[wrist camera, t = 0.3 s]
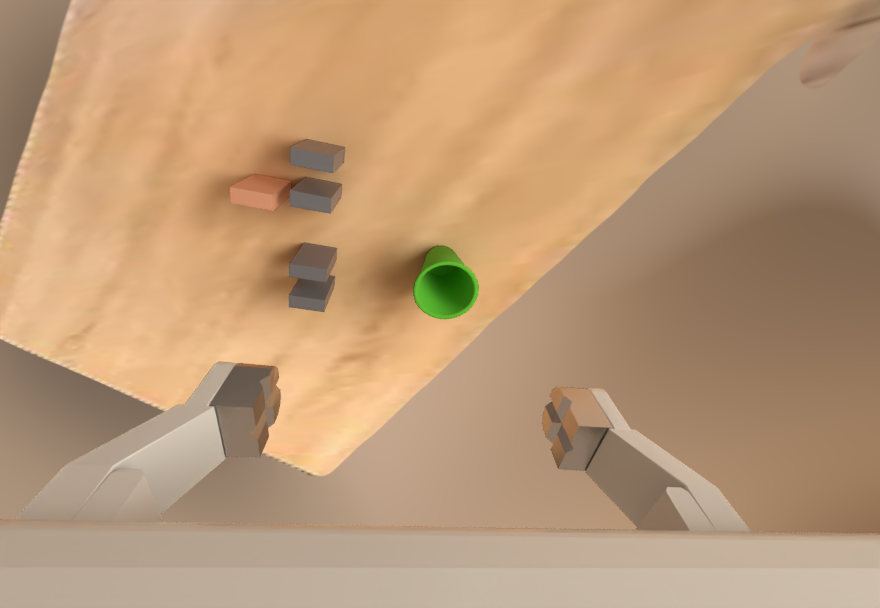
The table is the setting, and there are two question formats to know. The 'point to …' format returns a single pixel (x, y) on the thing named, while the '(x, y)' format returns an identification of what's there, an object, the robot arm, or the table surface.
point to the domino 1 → (260, 192)
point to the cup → (445, 285)
